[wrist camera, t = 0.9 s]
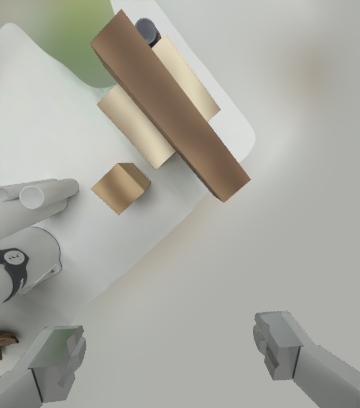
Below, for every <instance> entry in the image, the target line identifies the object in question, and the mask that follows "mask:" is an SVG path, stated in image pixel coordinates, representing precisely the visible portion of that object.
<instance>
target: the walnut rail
mask: <svg viewBox="0 0 360 408" xmlns="http://www.w3.org/2000/svg"><path fill="white" fill-rule="evenodd" d="M90 45H91V46H92V48H93V49H94V51H95V53H96V54H97V55H98V57H99V59H100V61H101V62H102V63H103V65H104V67H105V68H106V69H107V71H108V72H109V73H110V74H111V75H112V76H113V78H114V79H115V80H116V81H117V82H118V84H119V85H120V86H121V87H122V88H123V89H124V91H125V92H126V93H127V94H128V95H129V96H130V98H131V99H132V100H133V101H134V102H135V104H136V105H137V106H138V107H139V108H140V109H141V111H142V112H143V113H144V114H145V115H146V116H147V118H148V119H149V120H150V121H151V122H152V124H153V125H154V126H155V127H156V128H157V129H158V131H159V132H160V133H161V134H162V135H163V136H164V138H165V139H166V140H167V141H168V142H169V143H170V145H171V146H172V147H173V148H174V149H175V151H176V152H177V153H178V154H179V155H180V156H181V158H182V159H183V160H184V161H185V162H186V163H187V165H188V166H189V167H190V168H191V169H192V171H193V172H194V173H195V174H196V175H197V176H198V178H199V179H200V180H201V181H202V182H203V183H204V185H205V186H206V187H207V188H208V189H209V191H210V192H211V193H212V194H213V195H214V196H215V197H216V198H218V199H219V200H221V201H222V202H225V201H227V200H228V199H229V198H230V197H231V196H232V195H234V194H235V193H236V192H237V191H238V190H239V189H240V188H242V187H243V186H244V185H245V184H246V183H247V182H249V181H250V180H251V179H250V178H249V177H248V175H247V174H246V173H245V171H244V170H243V169H242V168H241V166H240V165H239V163H238V162H237V161H236V159H235V158H234V157H233V155H232V154H231V153H230V151H229V150H228V149H227V147H226V146H225V145H224V144H223V142H222V141H221V140H220V138H219V137H218V136H217V134H216V133H215V132H214V130H213V129H212V128H211V126H210V125H209V124H208V122H207V121H206V120H205V118H204V117H203V116H202V115H201V113H200V112H199V111H198V109H197V108H196V107H195V105H194V104H193V103H192V101H191V100H190V99H189V97H188V96H187V95H186V93H185V92H184V91H183V90H182V88H181V87H180V86H179V84H178V83H177V82H176V80H175V79H174V78H173V76H172V75H171V74H170V72H169V71H168V70H167V68H166V67H165V66H164V64H163V63H162V62H161V61H160V59H159V58H158V57H157V55H156V54H155V53H154V51H153V50H152V49H151V47H150V46H149V45H148V43H147V42H146V41H145V39H144V38H143V37H142V35H141V34H140V33H139V32H138V30H137V29H136V28H135V26H134V25H133V24H132V22H131V21H130V20H129V18H128V17H127V16H126V14H125V13H124V12H123V10H122V9H121V10H120V11H119V12H118V13H117V14H116V15H115V16H114V18H113V19H112V20H111V21H110V22H109V23H108V24H107V25H106V26H105V27H104V28H103V29H102V30H101V31H100V33H99V34H98V35H97V36H96V37H95V38H94V39H93V40H92V41H91V42H90Z"/></svg>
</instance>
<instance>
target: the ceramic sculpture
mask: <svg viewBox="0 0 360 408" xmlns="http://www.w3.org/2000/svg"><path fill="white" fill-rule="evenodd" d="M13 343H19V341H18V339H17V338H16V337H15V336H14V335H12V334H11V333H0V347H1V346H4V345H10V344H13ZM0 360H2V352H1V349H0Z"/></svg>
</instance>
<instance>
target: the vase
mask: <svg viewBox="0 0 360 408" xmlns="http://www.w3.org/2000/svg"><path fill="white" fill-rule="evenodd" d="M78 190H79V185H78V183H77V182H76V181H75V180H74V179H65V180H59V181H58V180H56V179H49V180H42V181H35V182H29V183H22V184H15V185H8V186H1V187H0V240H1V239H3V238H5V237H7V236H9V235H12V234H14V233H16V232H18V231H20V230H22V229H24V228H27V227H29V226H31V225H33V224H35V223H37V222H39V221H41V220H44V219H46V218H48V217H50V216H52V215H54V214H56V213H58V212H61V211H63V210H64V209H65V208H66V206H67V202H68V201H67V198H68V197H71V196H74V195H75V194H76V193H77V192H78Z"/></svg>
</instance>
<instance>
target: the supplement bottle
mask: <svg viewBox="0 0 360 408" xmlns="http://www.w3.org/2000/svg"><path fill="white" fill-rule="evenodd" d="M135 28H136V29H137V30H138V32H139V33H140V34H141V35H142V37H143V38H144V39H145V41H146V42H147V43H148V45H149V46H150V47H151V49H152V48H153V47H154V46H155V45H156V43H157V42H158V41H159V40H160V39H161V35H160V33H159V32H158V30H157V29H156V27H155V25H154V23H153V22H152V21H151V20H149V19H147V18H142V19H139V20H138V21H137V22H136V24H135Z"/></svg>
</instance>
